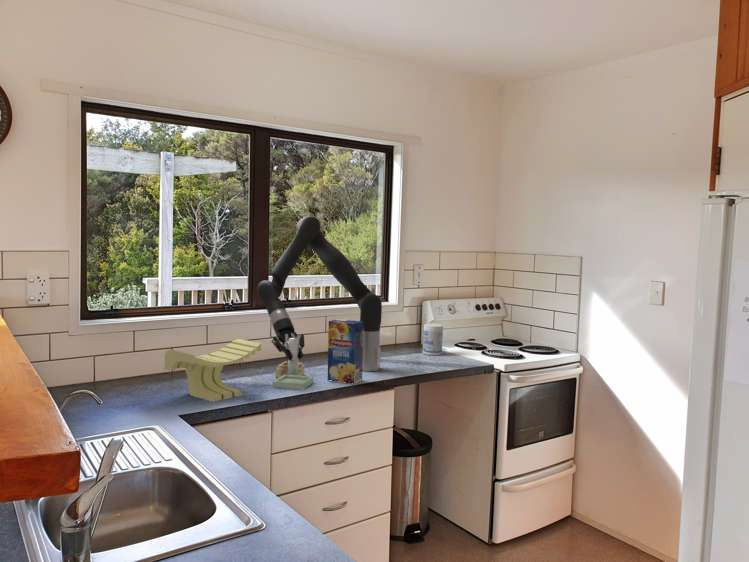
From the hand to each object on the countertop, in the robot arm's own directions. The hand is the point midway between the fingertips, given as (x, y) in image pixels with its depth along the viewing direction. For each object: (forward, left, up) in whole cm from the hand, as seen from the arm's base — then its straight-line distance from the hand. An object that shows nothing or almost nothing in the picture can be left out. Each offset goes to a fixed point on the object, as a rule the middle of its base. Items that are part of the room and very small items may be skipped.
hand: (296, 358), depth 236 cm
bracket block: (+7, -13, -11) cm, 18 cm away
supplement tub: (-42, -80, -11) cm, 91 cm away
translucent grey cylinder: (+2, -1, -6) cm, 7 cm away
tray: (+1, -1, -11) cm, 11 cm away
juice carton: (-16, -14, -11) cm, 24 cm away
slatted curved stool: (+23, +21, -11) cm, 33 cm away
